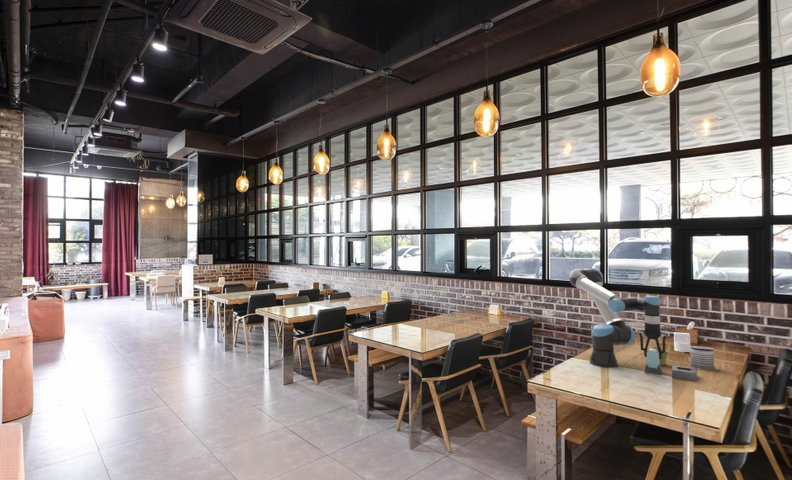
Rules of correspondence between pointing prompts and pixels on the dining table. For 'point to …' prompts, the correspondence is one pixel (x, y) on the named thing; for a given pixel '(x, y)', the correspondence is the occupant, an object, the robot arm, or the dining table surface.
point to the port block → (684, 373)
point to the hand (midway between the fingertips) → (653, 363)
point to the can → (702, 357)
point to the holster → (653, 370)
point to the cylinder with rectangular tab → (682, 342)
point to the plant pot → (663, 359)
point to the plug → (652, 358)
